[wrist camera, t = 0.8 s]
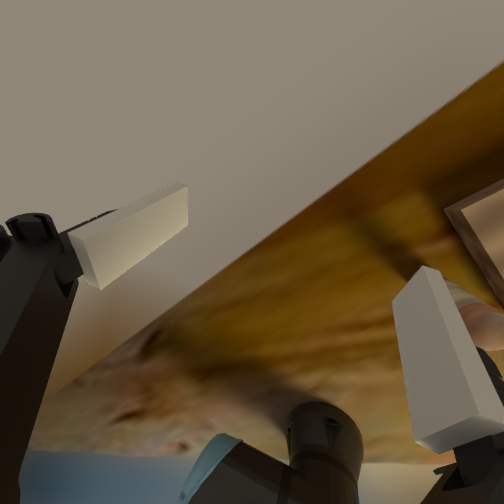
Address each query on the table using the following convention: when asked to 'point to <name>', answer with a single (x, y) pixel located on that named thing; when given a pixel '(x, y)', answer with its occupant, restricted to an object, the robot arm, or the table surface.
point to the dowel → (478, 318)
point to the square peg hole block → (483, 231)
